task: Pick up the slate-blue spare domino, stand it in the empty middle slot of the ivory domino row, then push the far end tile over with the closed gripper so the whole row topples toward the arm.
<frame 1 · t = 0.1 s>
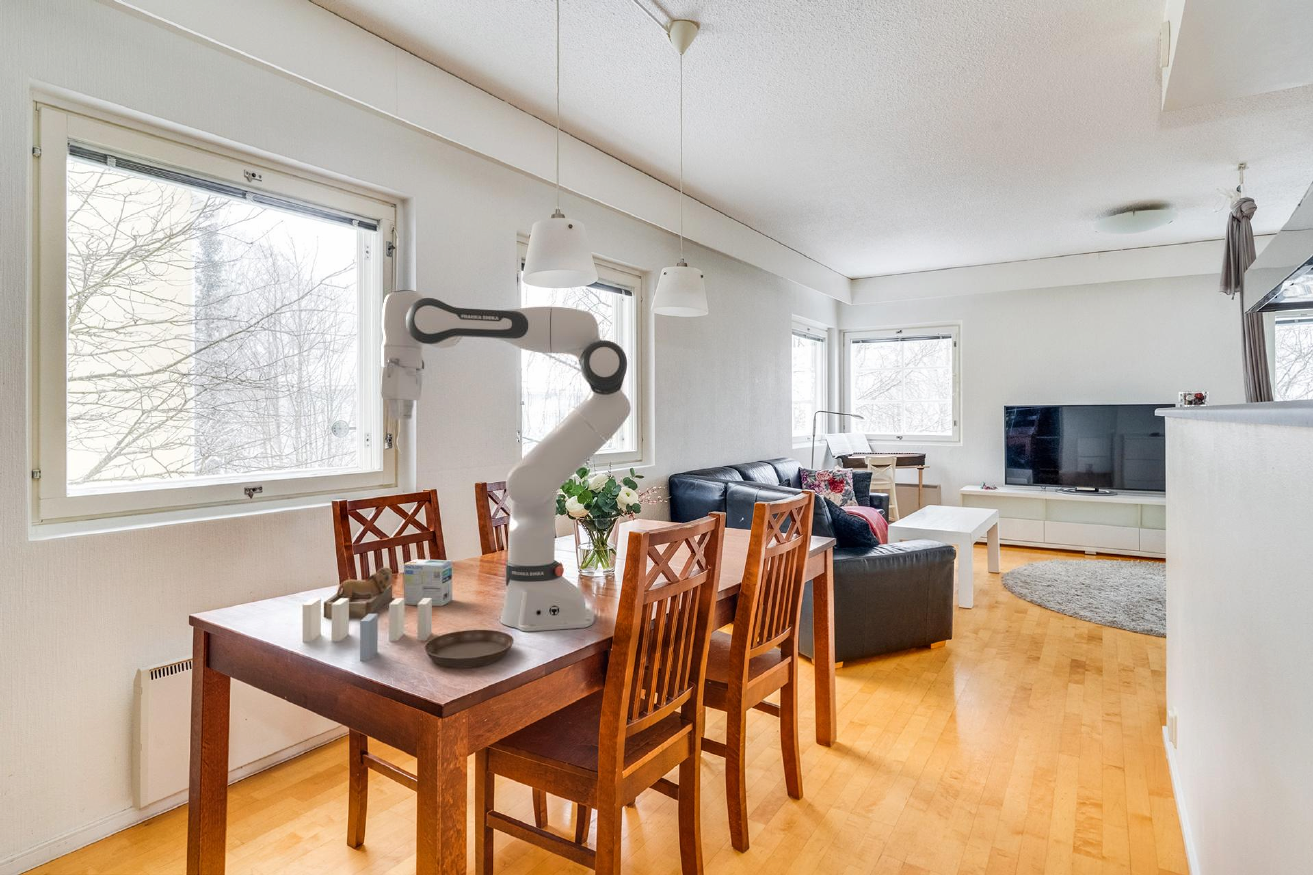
hand: (401, 419, 160), 48 cm above the table, fingers open, 8 cm apart
plant saucer: (469, 657, 139), on the table
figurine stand: (359, 606, 172), on the table
domino d: (424, 636, 150), on the table
light bulb box: (428, 603, 177), on the table
domino b: (340, 637, 148), on the table
lion figurine: (364, 605, 172), resting in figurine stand
domino a: (311, 637, 148), on the table
spare domino: (368, 656, 137), on the table
domino c: (396, 637, 150), on the table
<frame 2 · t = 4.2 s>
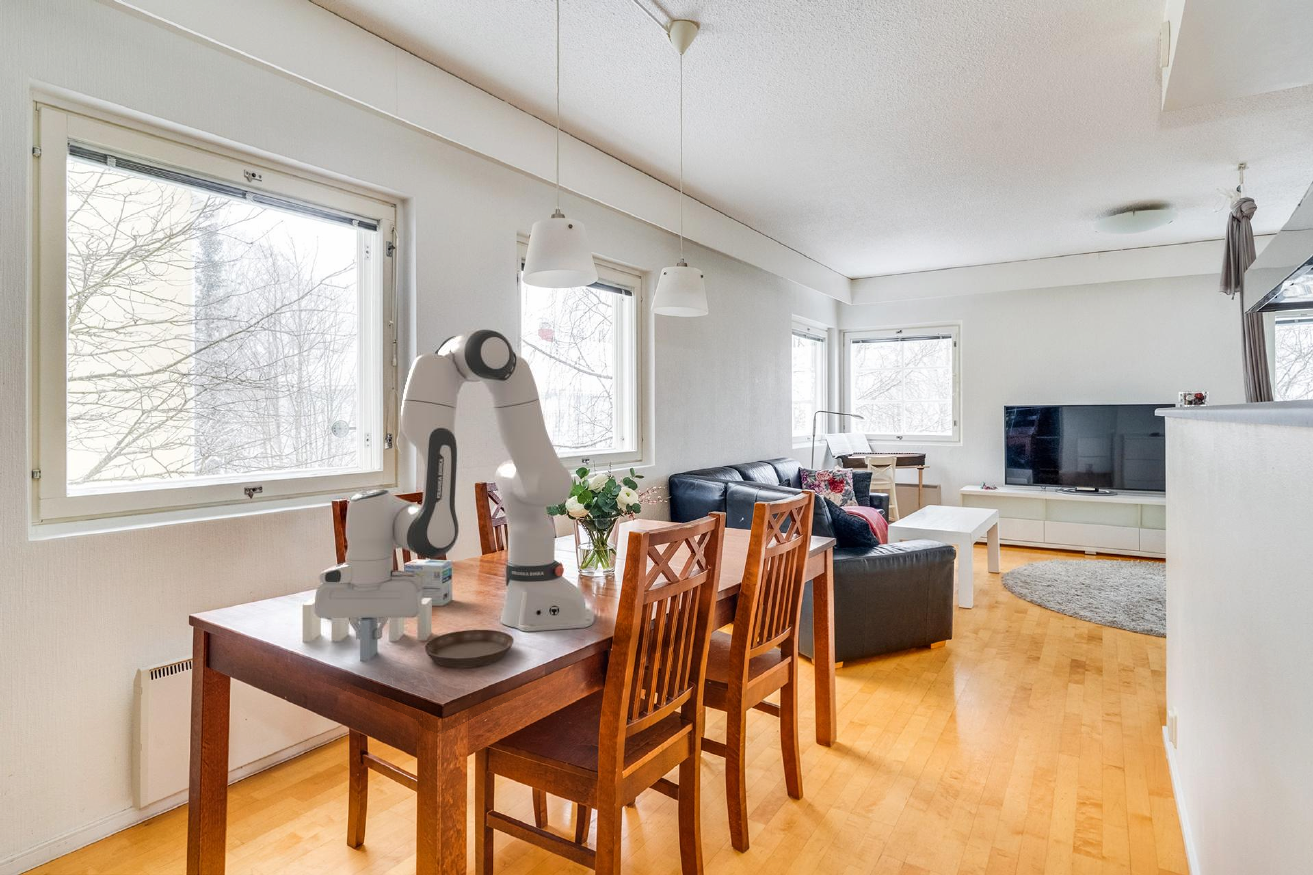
hand: (369, 638, 137), 4 cm above the table, fingers closed on spare domino, 2 cm apart
spare domino: (368, 656, 137), on the table, touching gripper
everything else where it was.
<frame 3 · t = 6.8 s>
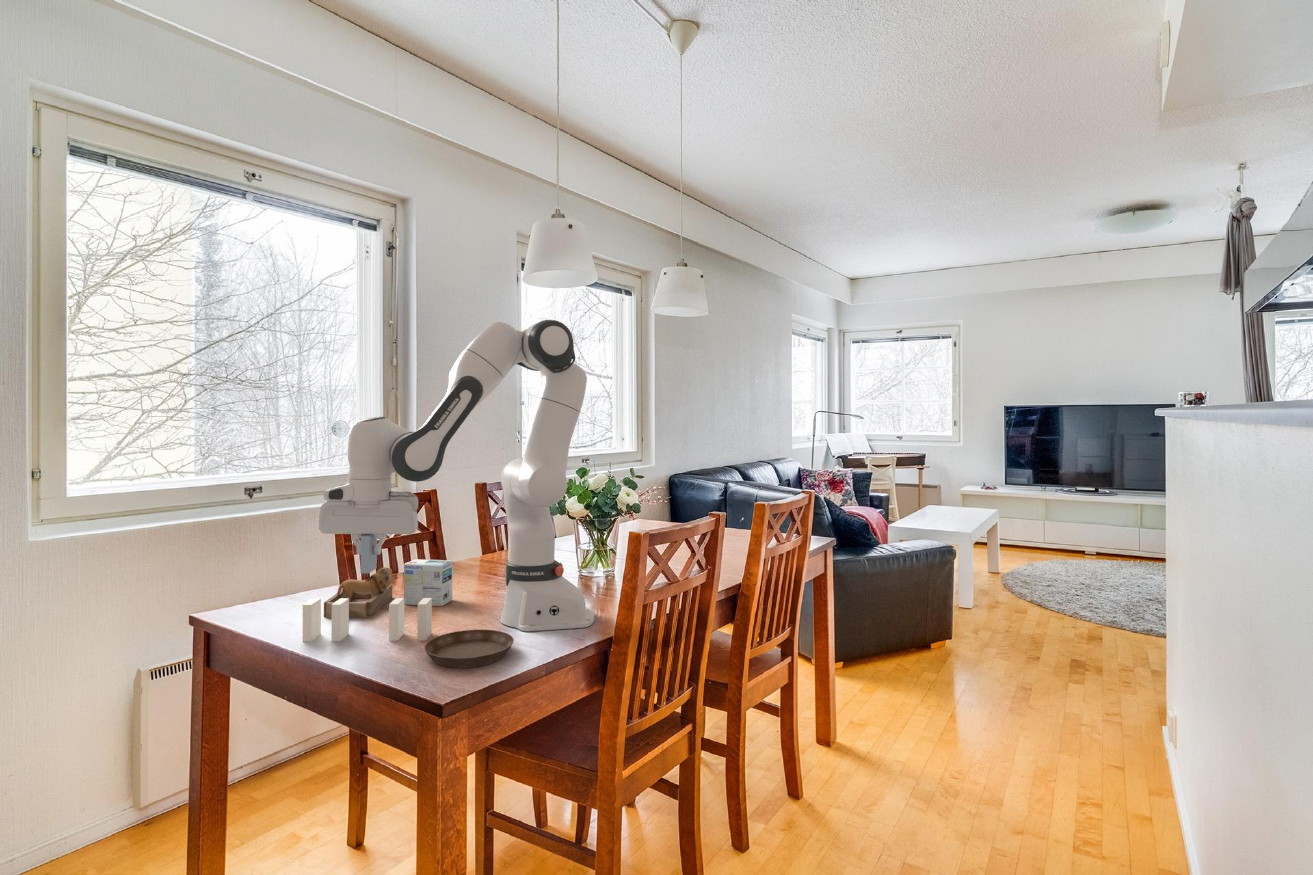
hand: (368, 554, 148), 18 cm above the table, fingers closed on spare domino
spare domino: (368, 570, 148), point 15 cm above the table, touching gripper
everything else where it was.
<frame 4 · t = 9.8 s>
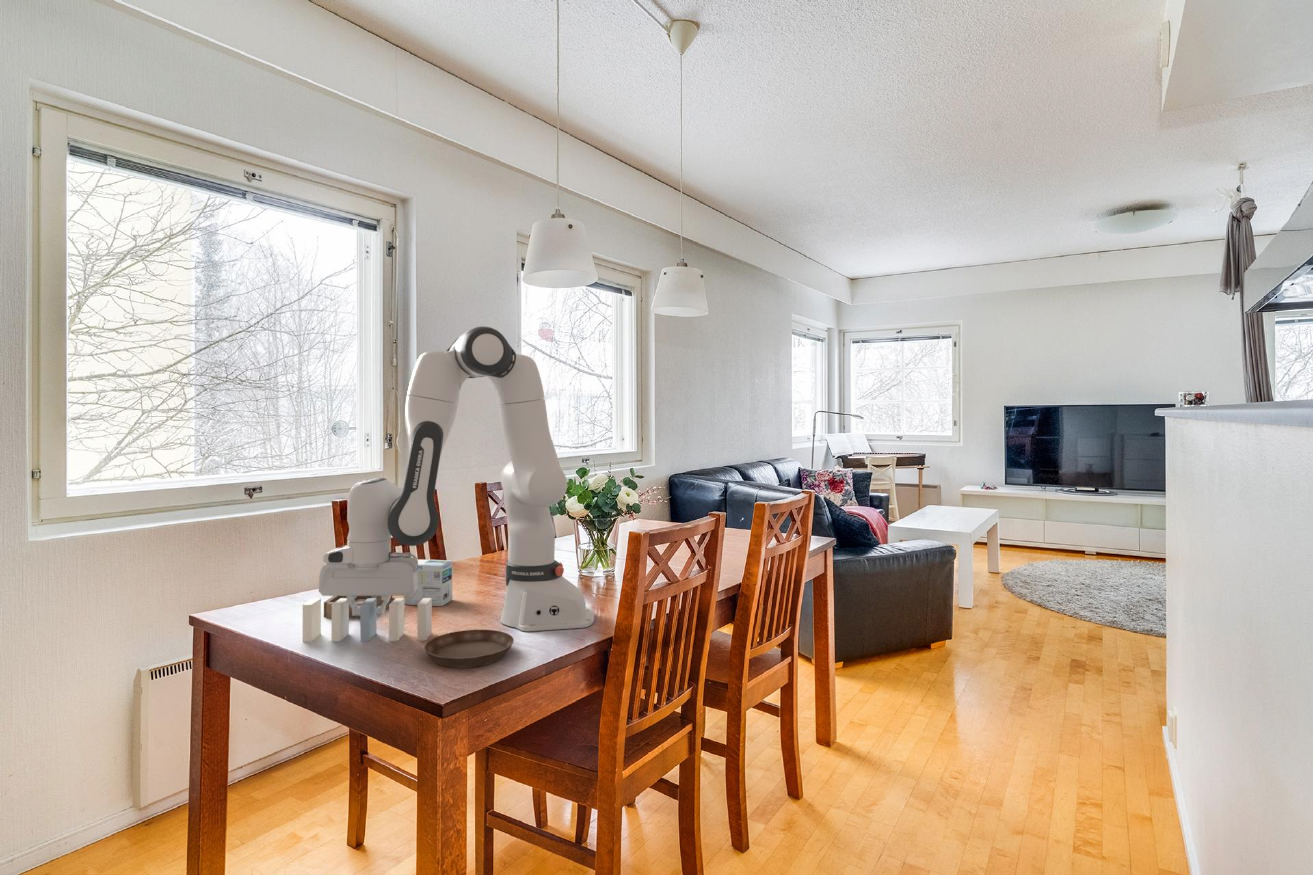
hand: (368, 614, 149), 5 cm above the table, fingers open, 4 cm apart
spare domino: (368, 637, 149), on the table
everything else where it was.
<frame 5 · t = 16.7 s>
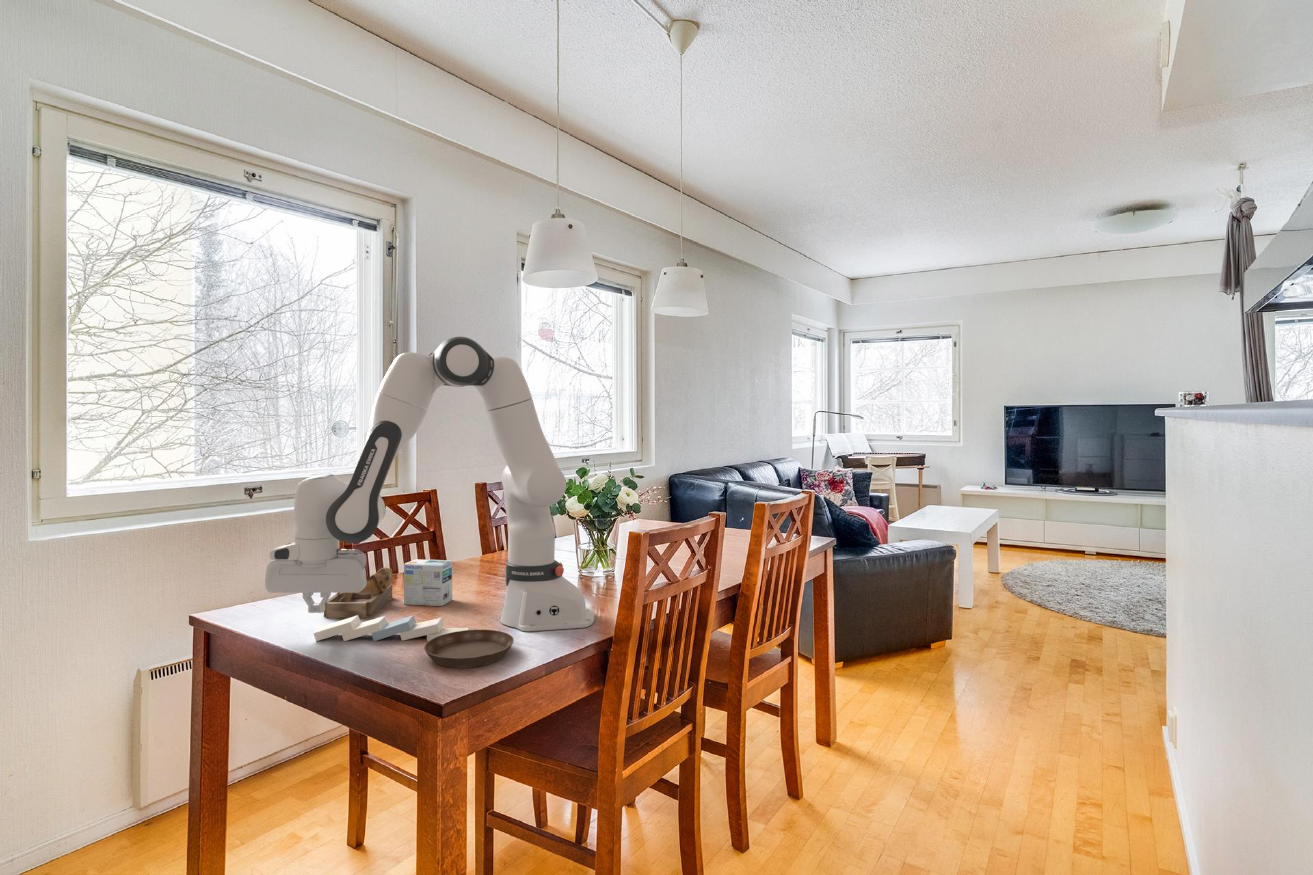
hand: (316, 612, 148), 6 cm above the table, fingers closed
domino d: (429, 635, 150), on the table, tilted 90°, touching domino c
domino b: (346, 633, 149), point 1 cm above the table, tilted 73°, touching domino a, spare domino
domino a: (319, 633, 148), point 1 cm above the table, tilted 73°, touching domino b
spare domino: (376, 633, 149), point 1 cm above the table, tilted 72°, touching domino b
domino c: (403, 633, 150), point 1 cm above the table, tilted 77°, touching domino d
everything else where it was.
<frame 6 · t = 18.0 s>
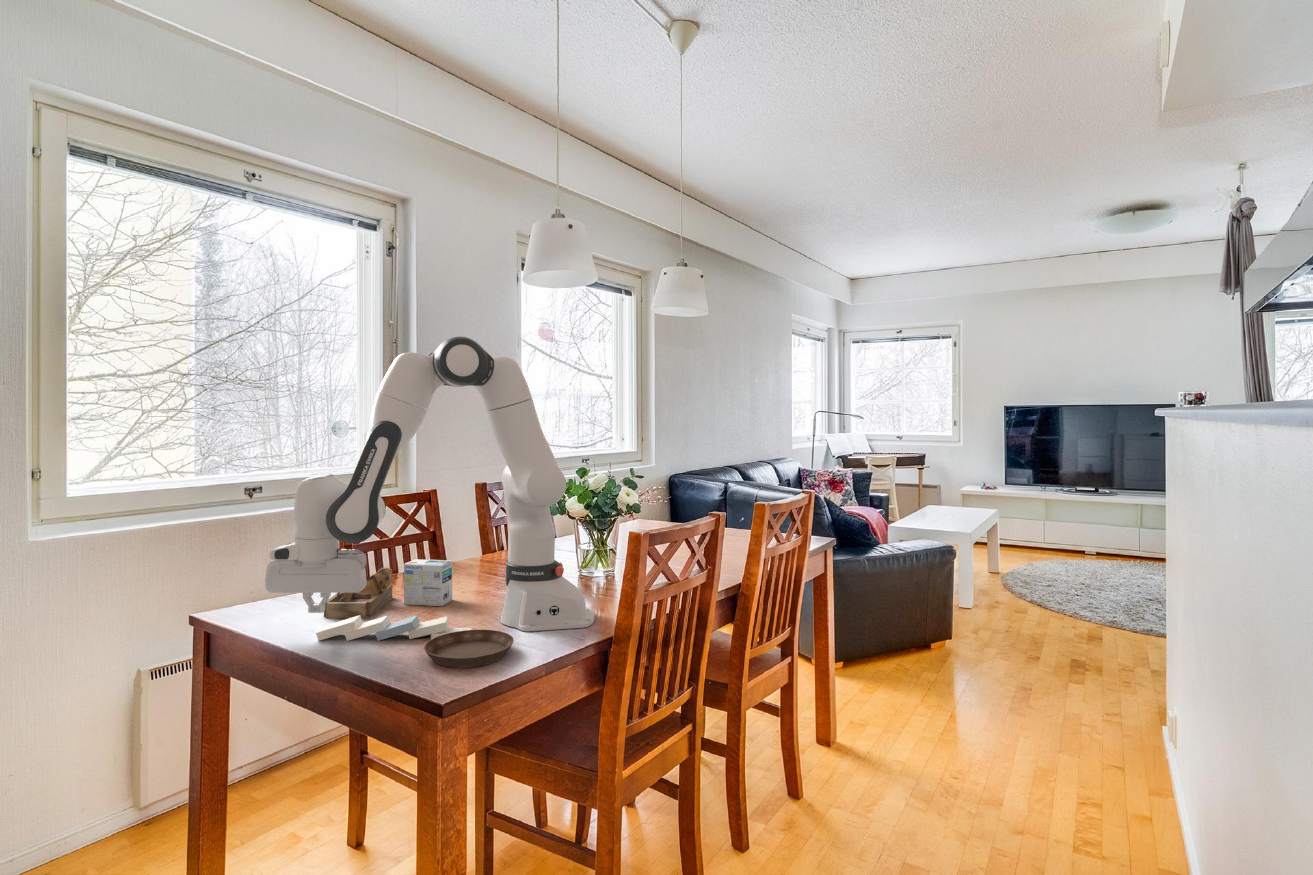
hand: (316, 612, 148), 6 cm above the table, fingers closed
domino d: (433, 635, 150), on the table, tilted 90°
domino b: (349, 633, 149), point 1 cm above the table, tilted 73°, touching domino a
spare domino: (380, 633, 149), point 1 cm above the table, tilted 73°, touching domino c
domino c: (410, 631, 150), point 1 cm above the table, tilted 79°, touching spare domino
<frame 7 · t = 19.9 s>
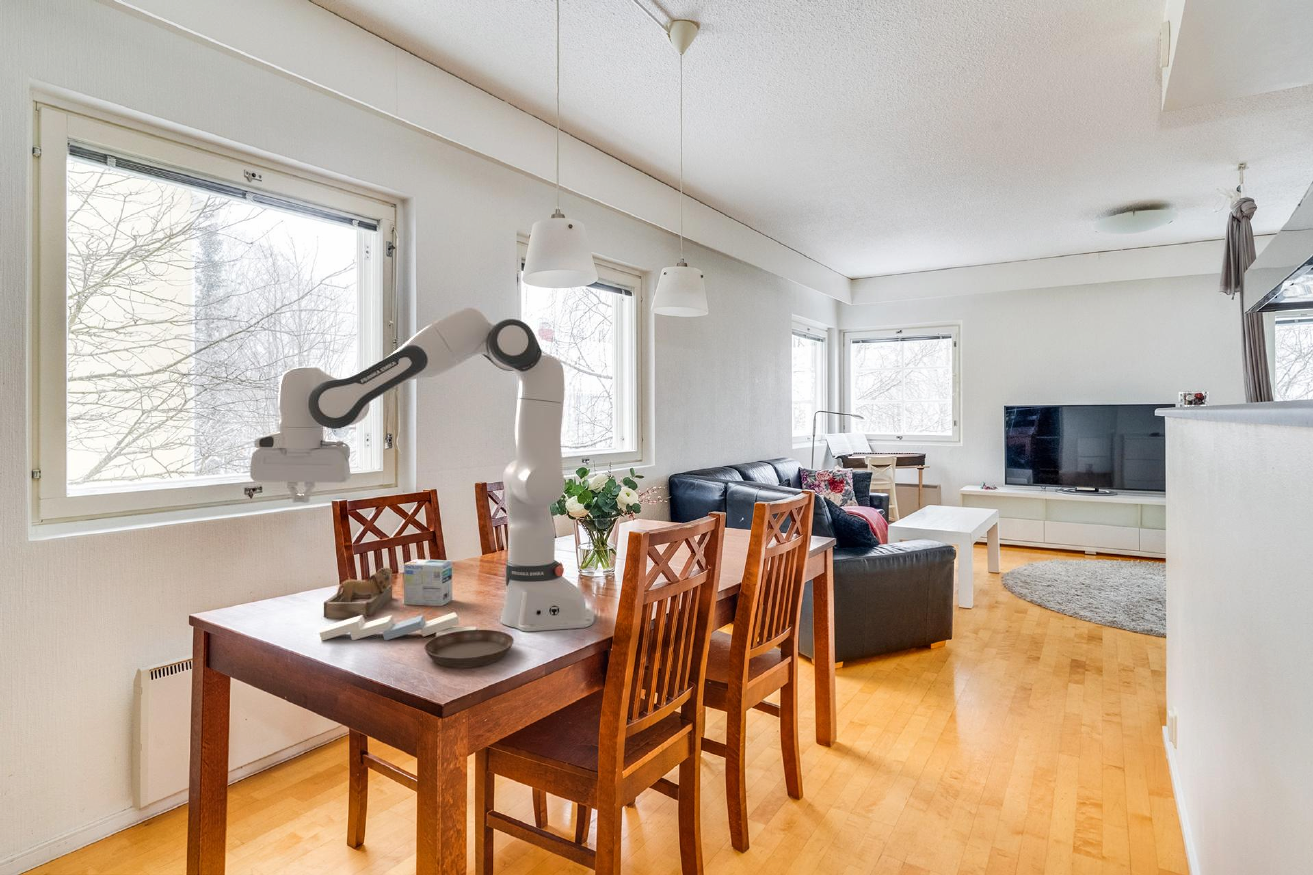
hand: (301, 502, 151), 29 cm above the table, fingers closed
domino d: (438, 634, 151), on the table, tilted 90°
domino b: (354, 632, 149), point 1 cm above the table, tilted 75°, touching domino a, spare domino
spare domino: (386, 633, 149), point 1 cm above the table, tilted 74°, touching domino b, domino c
domino c: (421, 630, 151), point 1 cm above the table, tilted 76°, touching spare domino
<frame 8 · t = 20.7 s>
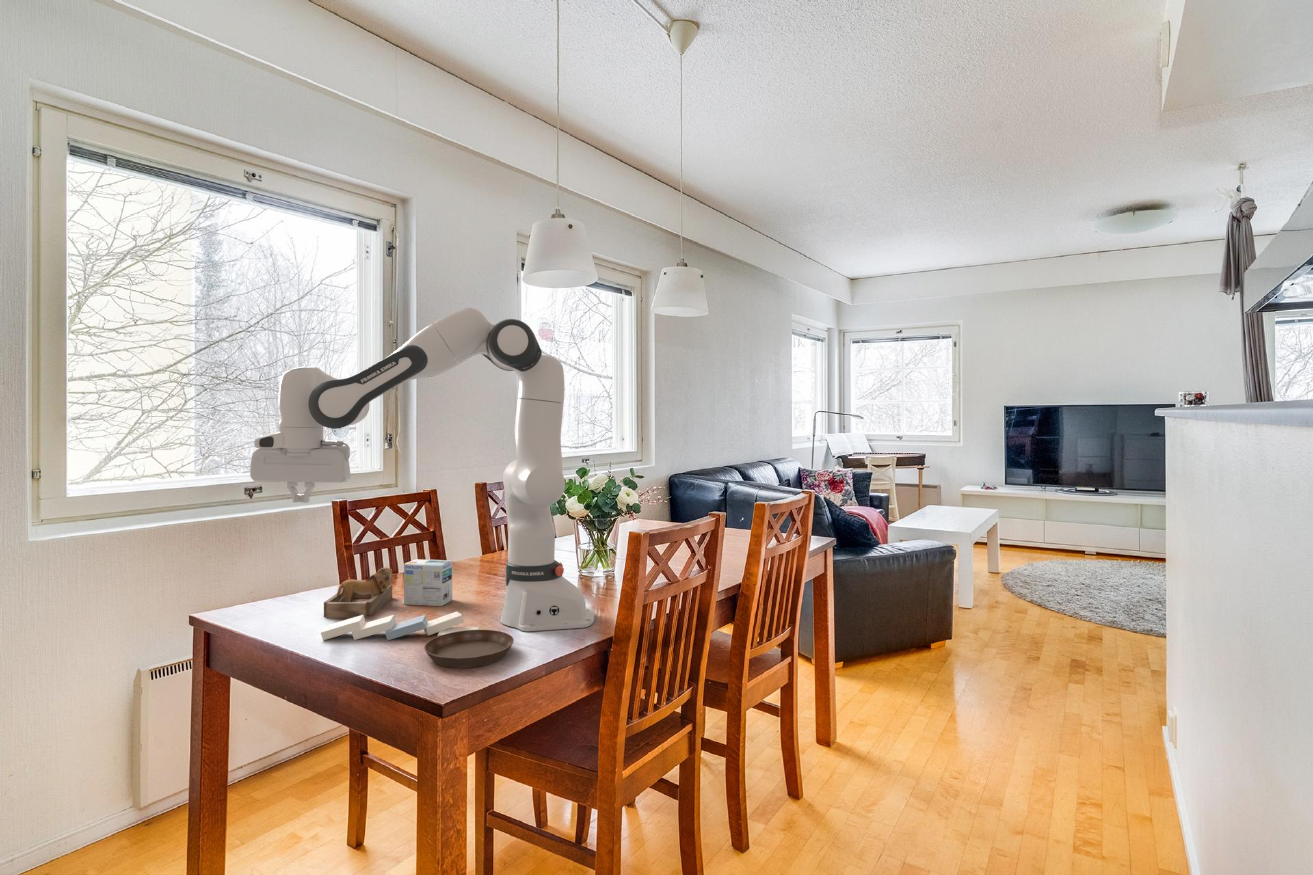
hand: (301, 502, 151), 29 cm above the table, fingers closed
domino d: (440, 634, 151), on the table, tilted 90°, touching domino c
domino c: (425, 629, 152), point 1 cm above the table, tilted 77°, touching domino d, spare domino
at the end: domino d tilted 90°; spare domino tilted 75° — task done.
